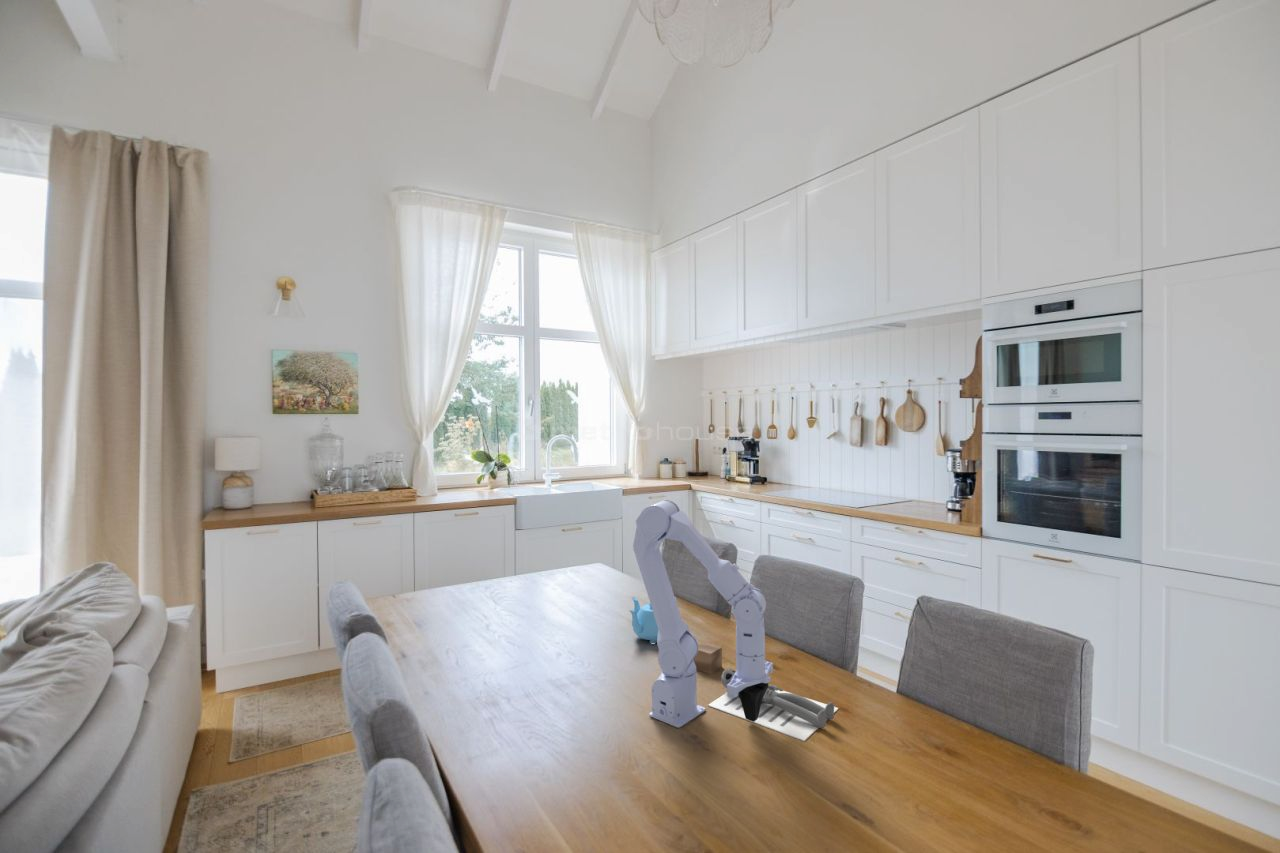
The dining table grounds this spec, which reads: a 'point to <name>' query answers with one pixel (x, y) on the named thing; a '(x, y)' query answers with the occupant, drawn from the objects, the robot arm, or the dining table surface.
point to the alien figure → (791, 703)
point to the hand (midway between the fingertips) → (751, 718)
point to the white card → (770, 716)
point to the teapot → (644, 622)
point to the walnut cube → (708, 658)
